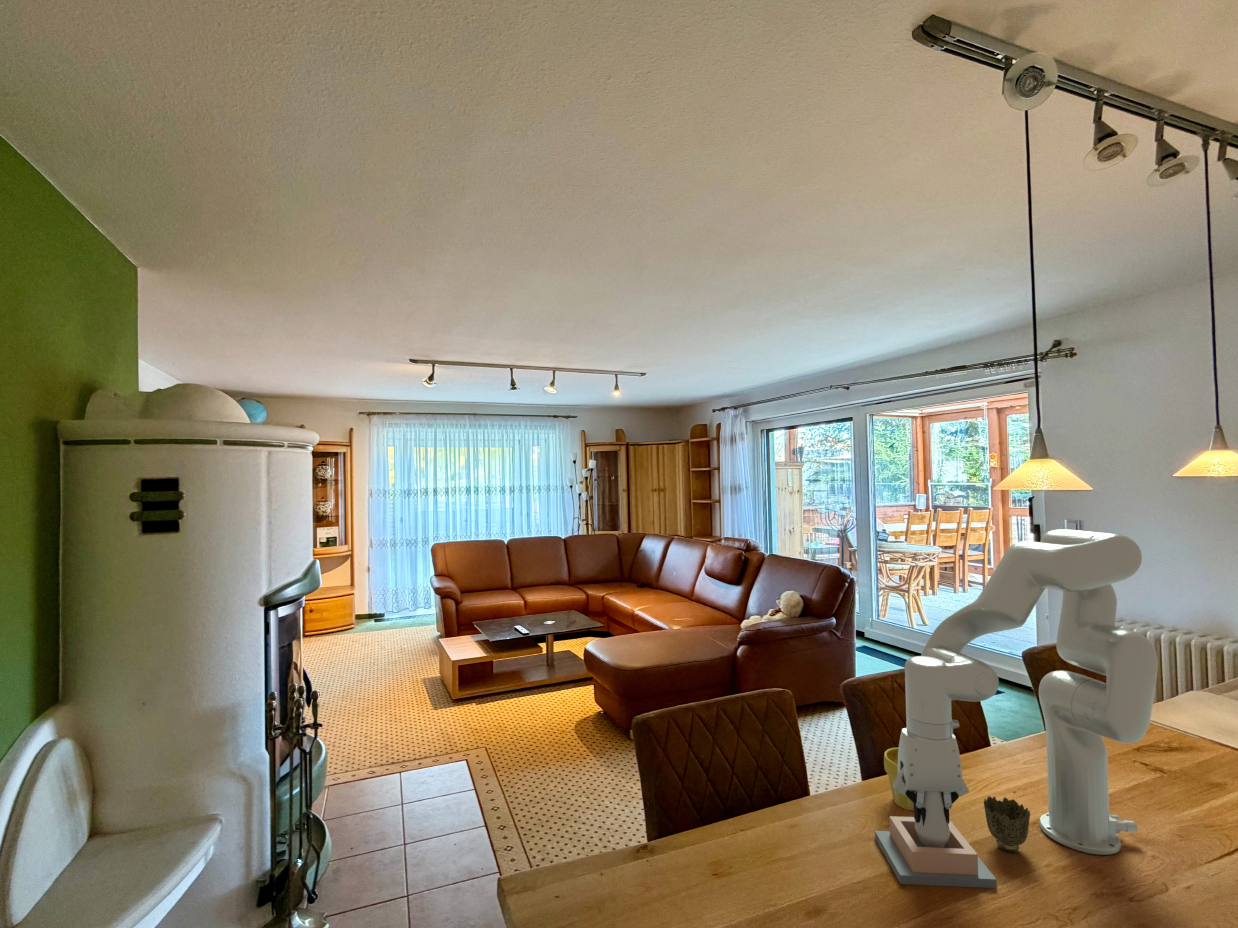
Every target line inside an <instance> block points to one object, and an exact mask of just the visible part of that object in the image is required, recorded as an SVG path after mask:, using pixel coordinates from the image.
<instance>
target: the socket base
mask: <svg viewBox="0 0 1238 928" xmlns="http://www.w3.org/2000/svg"><path fill="white" fill-rule="evenodd" d="M948 825H949V830H950V837H949V839H948V841H947V843H946V845H945V846H944V847H943V848H932V847H927V846H925V845H924V844H922V843H921V841H920V839H919V836H918V834H917V832H916V830H915V819H914V816H894V815H893V816H892V815H890V816H889V831H887V830H875V831H874V839H875V841H876V843H877V844H878V846H879V848H880V850H881V851H882V853H883V856H884V857H885V859H886V860H887V862H888V865H889V866H890V868H891V869H892V871H893V873H894V875H895V876H896V879H897V880H898V882H899V884H900V885H917V886H919V885H920V886H938V887H939V886H944V887H961V888H962V887H965V888H984V889H985V888H986V889H988V888H989V889H997V887H998V885H997V878H996V877H995V875H993V873H992V872H991V871H990V870H989V868H988V867H987V866H986V865H985V863H984V862H983V861H982V860H981V858H980V857H979V856H978V855H979V854H978V853H977V852H976V850H975V849H974V848H973V847H972V845H971V844H970V843H969V841H968V840H966V838H965V837H964V836H963V834H962V833H961V832H960V831H959V829H958V828H957V827H956V826H955V825H954V824H953V822H952V821H951V819H949V824H948Z"/></svg>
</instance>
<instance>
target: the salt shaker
mask: <svg viewBox="0 0 1238 928" xmlns="http://www.w3.org/2000/svg"><path fill="white" fill-rule="evenodd" d="M943 803H944V802H943V797H942V793H941V792H928V791H924V803H923V807H924V808H925V809H926V819H925V823H924V827H923V821H922V816H921V819H920V822H919V823H917V822H916V821H915V830H916V832H917V834H918V836H919V839H920V841H921V843H922V844H924V845H925V846H927V847H932V848H943V847H944V846H945V845H946V843H947V841H948V839H949V837H950V830H949V825H948V827H947V824H948V820H947V823H946V819H945V815H944V804H943Z"/></svg>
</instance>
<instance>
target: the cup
mask: <svg viewBox="0 0 1238 928" xmlns="http://www.w3.org/2000/svg"><path fill="white" fill-rule="evenodd" d="M983 807H984V813H985V819H986V825H987V828H988V830H989V832H990V834H991V835H992V837H993V838H994V839H996V840H995V842H996V845H997V847H998V848H999V849H1001V850H1002V851H1003V852H1007V853H1018V851H1019V850H1020V845H1023V844H1024V843H1025V842H1026V840H1027V837H1028V835H1029V828H1030V819H1031V812H1030V810H1029V808H1028V807H1026V808H1025V806H1024V805H1023V803H1021V804H1019V803H1018V802H1017V801H1016V799H1008V798H1007V797H1003V799H1002V800H1001V799H999V800H998V799H996V796H990V795H989V796H987V798H984V800H983Z"/></svg>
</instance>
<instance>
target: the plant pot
mask: <svg viewBox="0 0 1238 928" xmlns="http://www.w3.org/2000/svg"><path fill="white" fill-rule="evenodd" d="M898 751H899V747H891V748H888V749H887V750H885V751H884V754H883V767H884V771H885V773H886V774H887V776H888V780H889V785H890V789H891V795H892V801H894V803H895V804H896V805H897V806H899V807H900V808H902V809H905V810H906V811H907V810H908V811H910V812H911V811H913V812H914V803H913V802H912V801H911V800H910V799H909V798H908V797H907V796H906V795H903V794H901V793H900V792H898V791H896V790H895V788H894V787H893V784H894V782H895V780H896V778H897V776H898ZM905 787H906V783H905Z"/></svg>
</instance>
